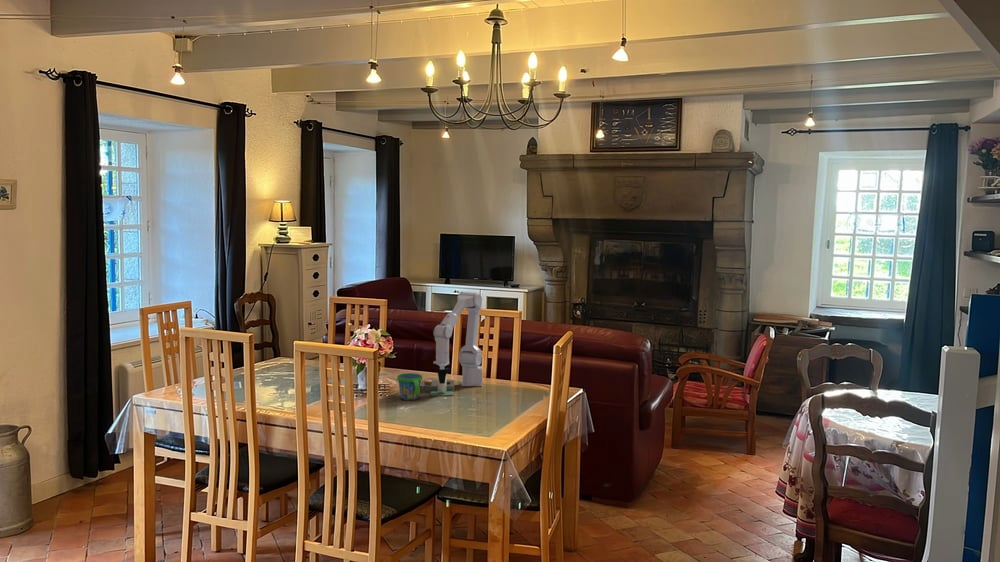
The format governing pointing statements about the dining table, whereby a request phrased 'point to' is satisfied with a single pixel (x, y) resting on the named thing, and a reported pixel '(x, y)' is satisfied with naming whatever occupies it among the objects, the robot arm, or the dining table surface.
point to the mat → (441, 393)
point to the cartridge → (442, 385)
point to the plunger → (427, 381)
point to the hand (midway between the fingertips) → (442, 382)
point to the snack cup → (409, 386)
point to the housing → (436, 386)
